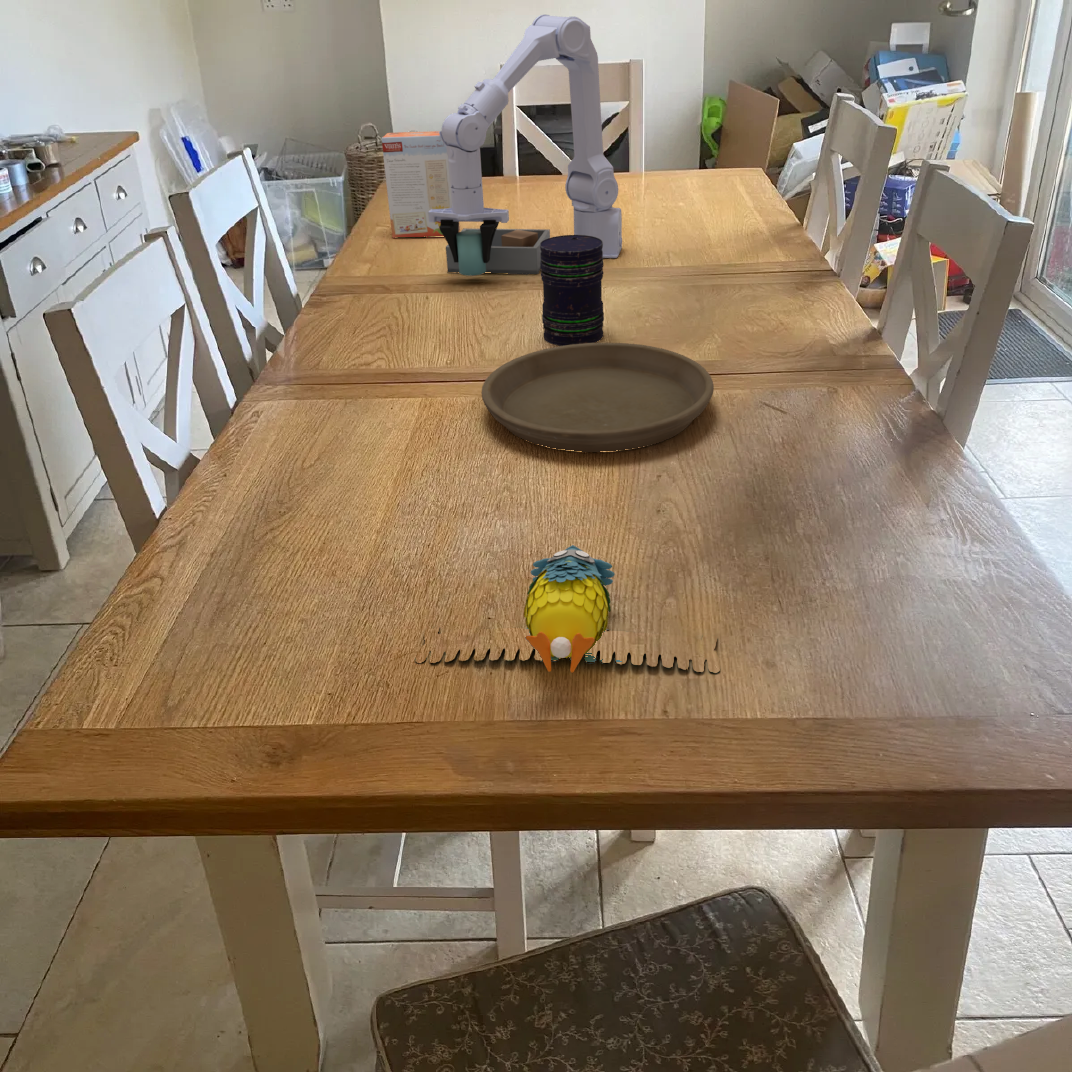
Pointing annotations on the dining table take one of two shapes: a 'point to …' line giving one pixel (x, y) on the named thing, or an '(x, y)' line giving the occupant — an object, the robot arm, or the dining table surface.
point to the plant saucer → (598, 396)
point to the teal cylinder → (470, 253)
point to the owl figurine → (568, 606)
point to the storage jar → (572, 289)
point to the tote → (508, 255)
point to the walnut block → (519, 239)
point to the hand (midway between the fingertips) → (471, 261)
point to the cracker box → (416, 181)
